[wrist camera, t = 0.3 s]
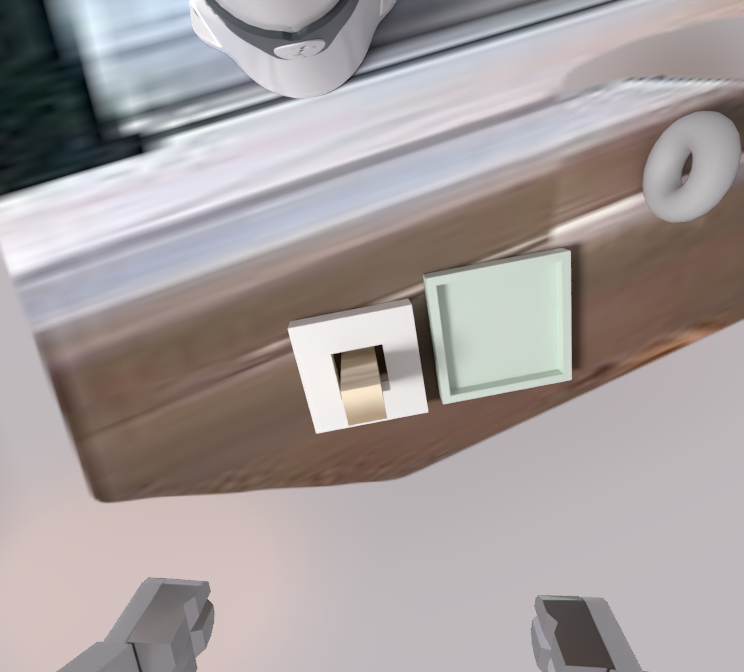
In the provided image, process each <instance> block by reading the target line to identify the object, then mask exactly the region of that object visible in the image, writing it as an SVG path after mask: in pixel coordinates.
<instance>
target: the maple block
mask: <svg viewBox="0 0 744 672" xmlns="http://www.w3.org/2000/svg"><path fill="white" fill-rule="evenodd" d="M340 392H341V396H342V400H343V404H344V409H345V413H346V417H347V421H348V425H349V426H350V425H355V424H360V423H366V422H371V421H376V420H381V419H387V414H386V409H385V403H384V397H383V391H382V386H381V380H380V374H379V369H378V364H377V359H376V354H375V349H374V346H371V347H366V348H361V349H356V350H350V351H345V352H341V391H340Z"/></svg>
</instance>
